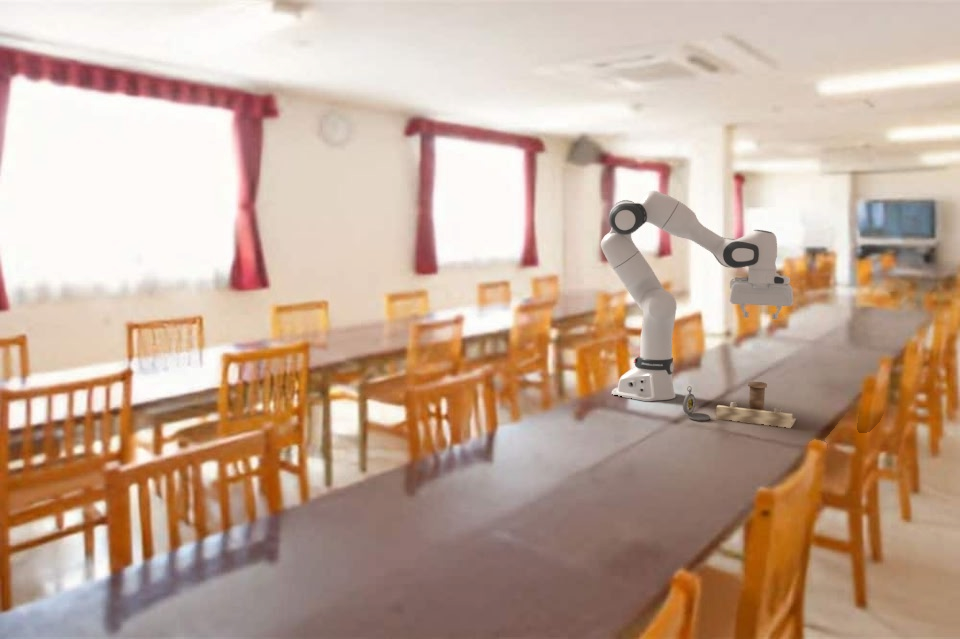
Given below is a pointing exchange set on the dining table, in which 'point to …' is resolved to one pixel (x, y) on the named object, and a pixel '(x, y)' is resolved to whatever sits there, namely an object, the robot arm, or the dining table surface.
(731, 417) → the peg rack
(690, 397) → the pocket watch
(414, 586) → the dining table surface
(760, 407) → the flanged spool
